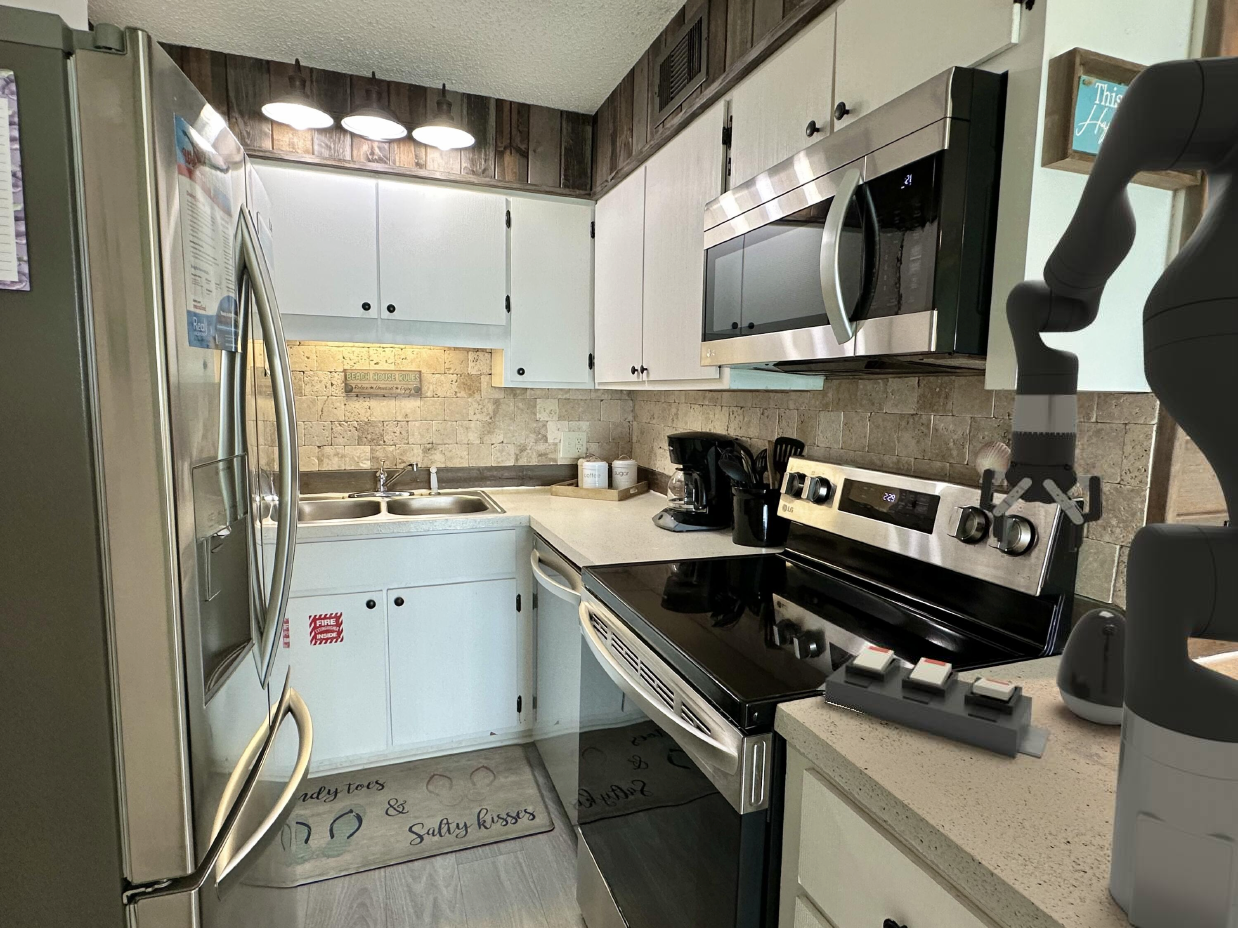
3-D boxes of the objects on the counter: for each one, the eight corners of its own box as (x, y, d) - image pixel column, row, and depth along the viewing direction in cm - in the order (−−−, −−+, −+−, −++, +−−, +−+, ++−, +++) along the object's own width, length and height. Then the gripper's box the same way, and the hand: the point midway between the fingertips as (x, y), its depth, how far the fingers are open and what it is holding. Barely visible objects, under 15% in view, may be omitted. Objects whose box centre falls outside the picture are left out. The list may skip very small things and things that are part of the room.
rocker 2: (1006, 700, 88) (1007, 691, 88) (972, 691, 90) (973, 683, 91) (1014, 692, 93) (1015, 684, 93) (981, 685, 95) (982, 677, 95)
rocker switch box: (1038, 764, 82) (1040, 727, 81) (808, 698, 100) (809, 667, 99) (1051, 727, 91) (1053, 694, 91) (839, 672, 109) (840, 644, 109)
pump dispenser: (1058, 723, 92) (1066, 614, 91) (1051, 694, 101) (1058, 594, 100) (1152, 741, 87) (1162, 626, 86) (1136, 709, 97) (1144, 604, 95)
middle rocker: (940, 690, 93) (940, 683, 93) (909, 683, 96) (909, 675, 95) (951, 670, 98) (951, 663, 97) (921, 663, 100) (921, 656, 100)
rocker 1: (880, 675, 98) (880, 668, 98) (853, 668, 101) (852, 662, 100) (893, 656, 103) (893, 650, 102) (867, 650, 105) (866, 644, 105)
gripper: (978, 428, 95) (972, 543, 96) (1104, 431, 85) (1095, 559, 87) (991, 426, 100) (985, 535, 102) (1110, 429, 91) (1102, 549, 92)
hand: (1036, 546), depth 94 cm, fingers open, 8 cm apart
